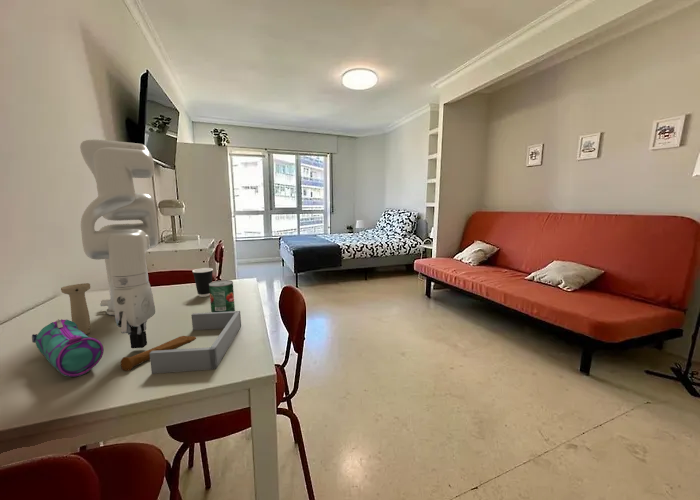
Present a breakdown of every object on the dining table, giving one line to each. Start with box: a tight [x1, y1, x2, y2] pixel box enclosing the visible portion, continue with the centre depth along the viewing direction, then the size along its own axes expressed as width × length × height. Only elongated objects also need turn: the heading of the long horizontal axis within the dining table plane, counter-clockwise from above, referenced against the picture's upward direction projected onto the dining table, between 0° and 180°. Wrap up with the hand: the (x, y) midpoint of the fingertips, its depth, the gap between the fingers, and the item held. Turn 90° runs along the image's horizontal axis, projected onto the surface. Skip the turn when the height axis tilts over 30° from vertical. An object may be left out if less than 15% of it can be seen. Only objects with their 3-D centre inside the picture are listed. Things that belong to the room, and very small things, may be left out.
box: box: [149, 310, 242, 374], centre depth 83 cm, size 14×25×5 cm, turn 7°
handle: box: [60, 282, 91, 335], centre depth 90 cm, size 5×6×15 cm
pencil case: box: [31, 318, 104, 378], centre depth 74 cm, size 21×9×10 cm, turn 56°
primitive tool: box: [120, 335, 197, 372], centre depth 80 cm, size 19×6×4 cm, turn 163°
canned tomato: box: [209, 279, 236, 312], centre depth 108 cm, size 8×8×11 cm
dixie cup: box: [192, 267, 214, 298], centre depth 129 cm, size 8×8×11 cm
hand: (139, 346), depth 81 cm, fingers closed
